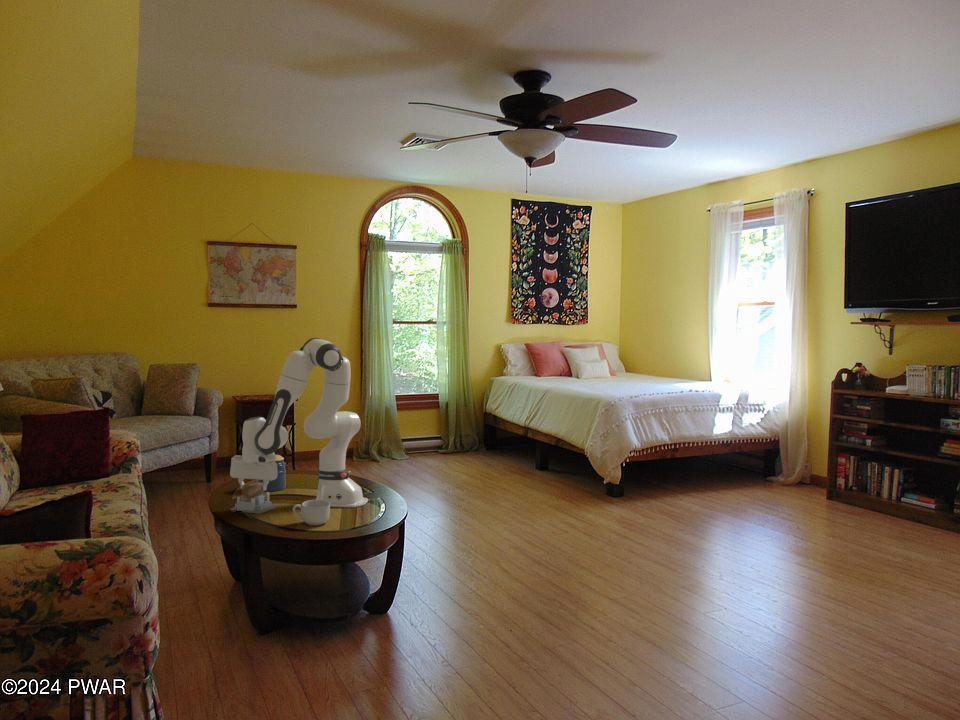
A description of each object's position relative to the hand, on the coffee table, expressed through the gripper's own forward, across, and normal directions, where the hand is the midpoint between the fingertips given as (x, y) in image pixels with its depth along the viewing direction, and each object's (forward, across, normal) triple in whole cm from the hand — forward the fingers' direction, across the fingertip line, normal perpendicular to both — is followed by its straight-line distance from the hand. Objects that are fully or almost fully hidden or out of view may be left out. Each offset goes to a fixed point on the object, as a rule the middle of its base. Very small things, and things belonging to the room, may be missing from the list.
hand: (253, 489), depth 275 cm
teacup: (+8, +33, -12) cm, 36 cm away
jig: (+8, 0, 0) cm, 8 cm away
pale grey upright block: (+7, 0, 0) cm, 7 cm away
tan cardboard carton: (+3, 0, 0) cm, 3 cm away
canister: (+8, -13, +35) cm, 38 cm away
